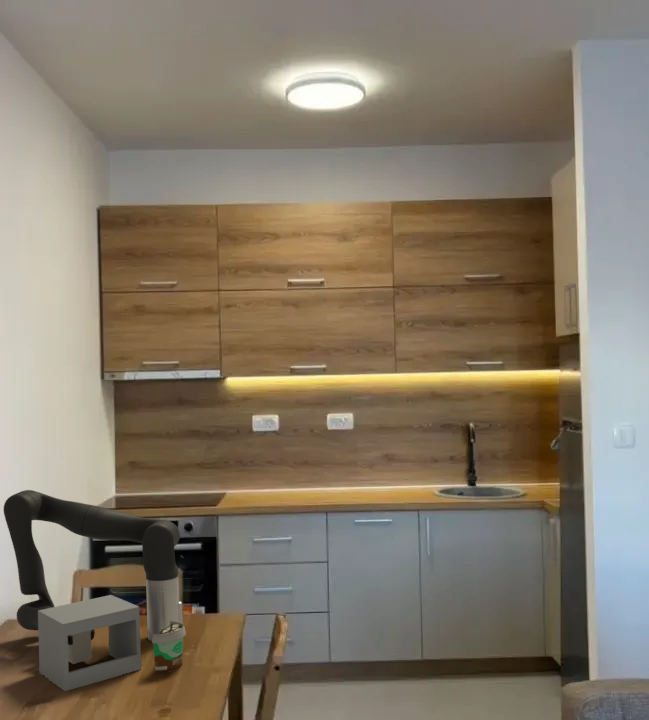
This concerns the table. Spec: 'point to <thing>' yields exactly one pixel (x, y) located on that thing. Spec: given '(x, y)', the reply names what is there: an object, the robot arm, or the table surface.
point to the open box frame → (88, 617)
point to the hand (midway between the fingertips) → (81, 638)
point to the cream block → (80, 647)
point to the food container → (169, 647)
